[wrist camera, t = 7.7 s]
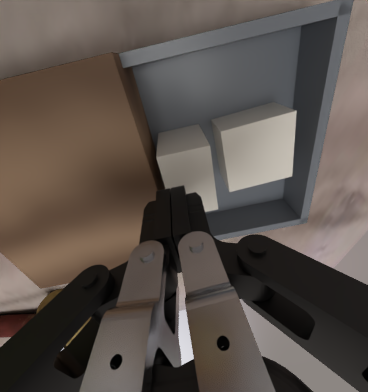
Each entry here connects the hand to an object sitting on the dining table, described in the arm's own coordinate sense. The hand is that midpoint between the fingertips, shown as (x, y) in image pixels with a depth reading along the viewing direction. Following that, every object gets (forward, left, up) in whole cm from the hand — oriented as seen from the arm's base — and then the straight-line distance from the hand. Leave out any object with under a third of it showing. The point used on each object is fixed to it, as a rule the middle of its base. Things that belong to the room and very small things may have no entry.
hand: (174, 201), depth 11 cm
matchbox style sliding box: (0, -7, -6) cm, 10 cm away
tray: (0, +4, -6) cm, 8 cm away
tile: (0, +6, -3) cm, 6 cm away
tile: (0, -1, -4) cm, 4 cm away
